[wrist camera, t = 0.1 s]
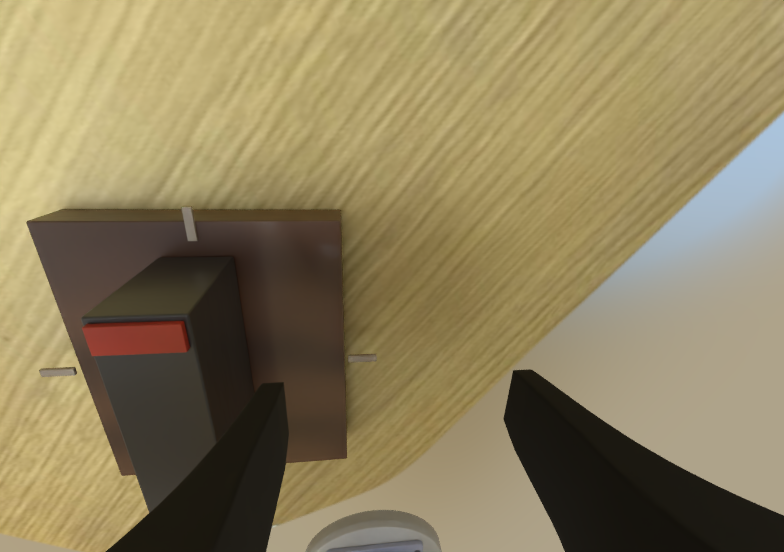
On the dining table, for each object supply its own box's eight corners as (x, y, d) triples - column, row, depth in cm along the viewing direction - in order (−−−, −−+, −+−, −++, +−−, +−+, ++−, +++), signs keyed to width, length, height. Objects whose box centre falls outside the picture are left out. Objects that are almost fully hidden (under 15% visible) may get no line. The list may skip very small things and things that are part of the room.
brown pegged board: (372, 436, 23) (374, 466, 21) (113, 455, 22) (90, 489, 20) (374, 196, 17) (378, 207, 15) (15, 194, 16) (-33, 206, 14)
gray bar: (262, 446, 20) (236, 550, 15) (204, 450, 20) (159, 558, 15) (234, 255, 16) (184, 318, 11) (158, 256, 15) (72, 321, 10)
